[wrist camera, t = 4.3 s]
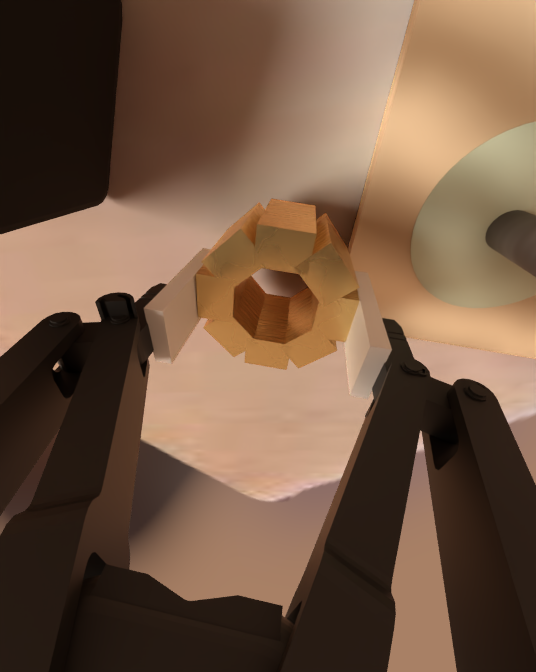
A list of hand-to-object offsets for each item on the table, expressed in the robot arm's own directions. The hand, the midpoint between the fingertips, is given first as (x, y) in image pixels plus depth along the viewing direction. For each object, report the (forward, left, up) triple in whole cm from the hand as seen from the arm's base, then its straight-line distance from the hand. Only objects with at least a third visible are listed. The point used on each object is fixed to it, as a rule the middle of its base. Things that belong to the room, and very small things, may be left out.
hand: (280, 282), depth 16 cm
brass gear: (0, 0, -2) cm, 2 cm away
